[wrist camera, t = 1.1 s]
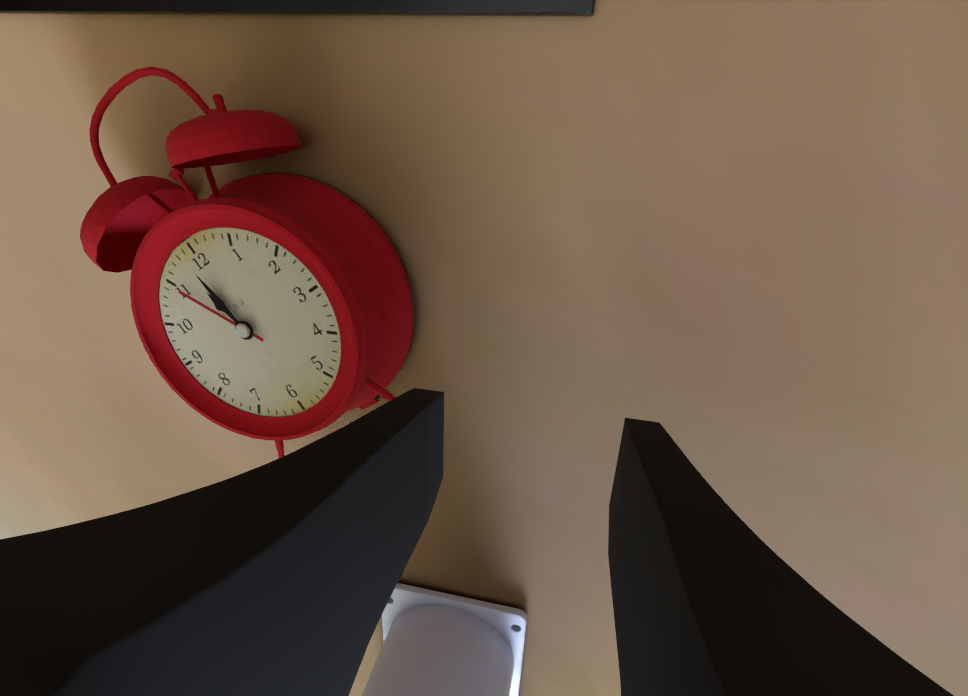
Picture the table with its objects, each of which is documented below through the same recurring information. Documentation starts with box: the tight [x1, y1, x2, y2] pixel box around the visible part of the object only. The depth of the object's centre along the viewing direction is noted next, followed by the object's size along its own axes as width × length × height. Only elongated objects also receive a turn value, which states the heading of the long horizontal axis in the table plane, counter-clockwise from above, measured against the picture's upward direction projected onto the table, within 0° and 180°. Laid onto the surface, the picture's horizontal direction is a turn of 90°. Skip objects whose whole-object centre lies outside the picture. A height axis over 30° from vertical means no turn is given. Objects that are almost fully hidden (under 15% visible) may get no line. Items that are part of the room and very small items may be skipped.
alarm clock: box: [80, 67, 414, 458], centre depth 19 cm, size 10×6×15 cm
